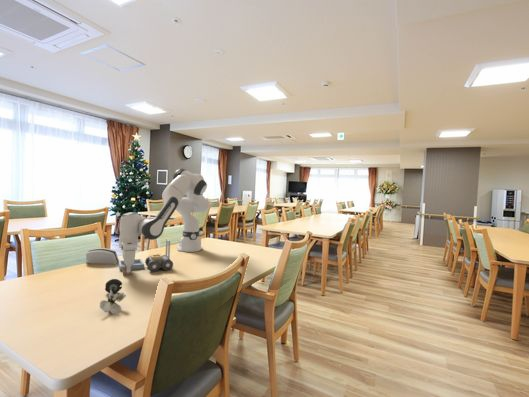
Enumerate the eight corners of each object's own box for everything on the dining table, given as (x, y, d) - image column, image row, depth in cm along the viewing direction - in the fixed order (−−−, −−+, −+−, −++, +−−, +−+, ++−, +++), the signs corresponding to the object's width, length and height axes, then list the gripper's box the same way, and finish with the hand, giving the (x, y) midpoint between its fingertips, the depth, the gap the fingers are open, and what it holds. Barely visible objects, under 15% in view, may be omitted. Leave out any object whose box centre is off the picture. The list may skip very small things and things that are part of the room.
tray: (118, 265, 156) (118, 260, 155) (141, 262, 162) (141, 258, 162) (119, 271, 145) (119, 266, 145) (143, 268, 152) (144, 264, 152)
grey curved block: (120, 261, 163) (118, 247, 159) (116, 266, 159) (114, 251, 155) (90, 260, 161) (87, 246, 157) (86, 265, 157) (83, 250, 153)
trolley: (148, 272, 145) (149, 243, 144) (145, 266, 155) (146, 239, 154) (173, 270, 152) (174, 241, 151) (168, 264, 162) (169, 238, 161)
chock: (122, 273, 143) (122, 264, 143) (130, 272, 145) (131, 263, 145) (123, 275, 139) (123, 267, 139) (131, 274, 141) (132, 266, 141)
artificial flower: (125, 294, 120) (132, 273, 119) (116, 325, 99) (125, 300, 98) (103, 290, 116) (110, 269, 116) (89, 322, 95) (98, 296, 95)
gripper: (120, 240, 148) (119, 264, 149) (123, 247, 131) (122, 276, 131) (132, 239, 152) (131, 263, 152) (137, 247, 134) (136, 274, 135)
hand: (127, 269), depth 142 cm, fingers open, 8 cm apart
